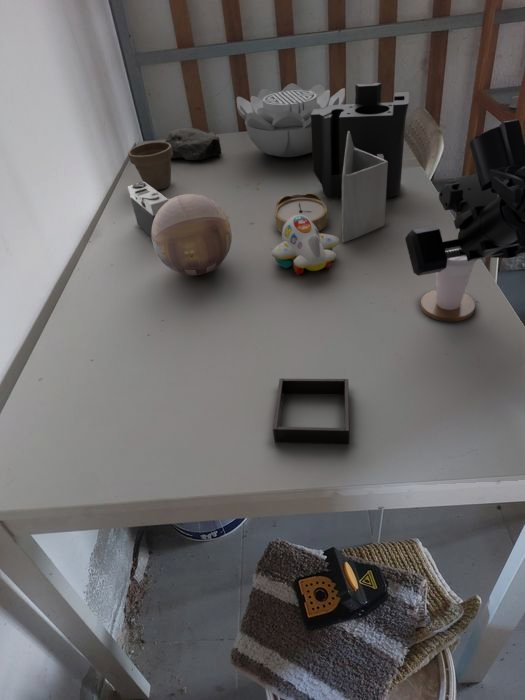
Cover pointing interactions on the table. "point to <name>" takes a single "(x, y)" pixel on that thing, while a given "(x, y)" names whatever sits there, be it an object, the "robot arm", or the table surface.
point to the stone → (193, 144)
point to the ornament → (191, 234)
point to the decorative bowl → (285, 118)
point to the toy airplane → (304, 246)
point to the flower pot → (153, 163)
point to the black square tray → (311, 433)
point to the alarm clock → (301, 209)
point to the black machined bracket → (359, 136)
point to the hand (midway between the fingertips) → (449, 258)
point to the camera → (146, 204)
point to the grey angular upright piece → (362, 192)
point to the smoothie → (453, 282)
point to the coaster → (441, 314)
